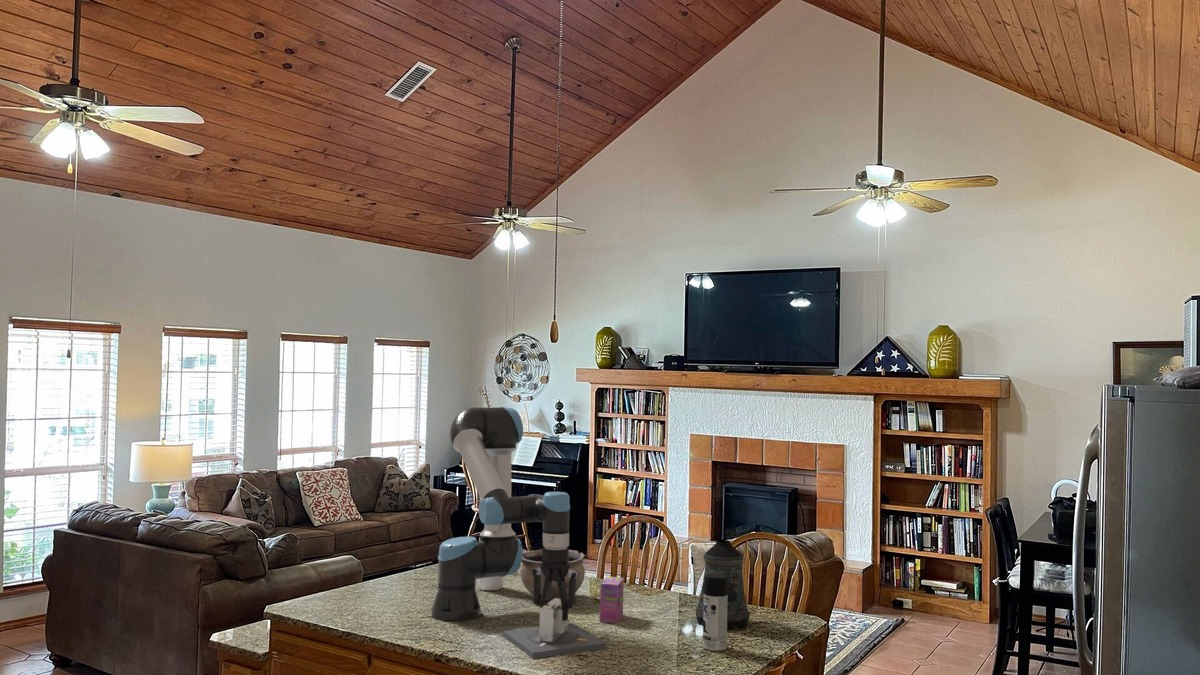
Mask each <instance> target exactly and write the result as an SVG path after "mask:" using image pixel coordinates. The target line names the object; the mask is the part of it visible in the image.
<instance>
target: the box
mask: <svg viewBox="0 0 1200 675" xmlns="http://www.w3.org/2000/svg"><path fill="white" fill-rule="evenodd" d="M624 584H625V578H624V577H620V576H619V577H618V576H606V577H605V578H604V579H603V581H602V582H601V583H600V594H599V595H600V597H599V598H600V599H599V600H600V601H599V622H600V623H605V622H612V623H611V624H618V623H619V621H620V620H621V618H622V617H623V615H624V590H625V589H624V586H625V585H624Z"/></svg>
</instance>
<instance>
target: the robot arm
mask: <svg viewBox="0 0 1200 675" xmlns="http://www.w3.org/2000/svg"><path fill="white" fill-rule="evenodd" d="M523 436H524V425H523V420H522V417H521V415H520V414H519V411H517V410H516V409H515V408H512V407H504V406H500V407H475V406H474V407H469V408H465V409H464V410H462V411H460V412H459V413H458V414H457V415H456V417H455V418H454V419H453V421H452V423H451V425H450V429H449V438H450V442H451V445H452V447H453V449H454V450H455V451H456V452H458V454H459V453H460V456H461V458H462V461H463V462H464V465H465V468H466V469H467V471H468V473H469V474H468V475H469V476H470V478H471V480H472V482H473V485H474V487H475V490H476V492H477V494H478V496H479V498H480V502H479V505H478V514H479V516H478V517H479V519H480V520H479V521H480V522H481V523H482V524H483V525H484V528H483V530H482V531H481V532H480V533H479V538H480V541H479V540H477V538H476V537H474V536H458V537H453V538H449V539H447V540H445V541H443V542H442V543H441V544H440V545H439V550H438V556H437V560H438V571H437V572H438V575H437V576H438V577H437V578H438V580H437V592H436V595H435V598H434V600H433V603H432V605H431V617H433V618H435V619H438V620H442V621H466V620H472V619H475V618H478V617H479V616H480V615H481V604H480V600H479V597H478V593H477V591H476V581H477V580H478V579H480V578H489V577H498V576H500V577H503V578H504V577H506V576H513V575H514V574H516V573H517V572H518V571H519V569H520V567H521V566H522V557H523V553H524V551H523V545H522V541H521V539H519V538H517V533H516V532H515V531H514V530H513V528H512V524H524V523H525V524H526V523H536V522H537V523H542V548H541V549H542V564H541V567H539V568H535V569H533V570H532V574H533V577H534V596H533V603H534V605H536V606H539V608H540V607H542V606H544V605H545V604H547V603H548V601H549V600H548V597H549V592H550V587H551V583H552V581H556V582H557V585H558V588H559V594H560V599H561V605H562V608H561V609H559V633H563V632H564V631H565V621H566V620H567V619H568V620H569V609H572V608H573V607H574V606H575V605H576V593H575V591H576V579H577V576H578V571H573V570H571V569H570V567H569V564H568V561H569V550H570V549H569V548H568V547H569V546H570V515H571V512H570V511H571V504H570V495H569V494H568V493H567V492H565V491H547V492H545V493H544V494H543V495H542V494H539V493H537V494H535V493H532V494H528V495H523V496H512V454H513V453H514V452H515V451H516V450H517V444H518V443H521V441H522V440H523ZM541 571H542V572H543V574H544V575H545V581H544V583H545V584H544V588H543V593H542V598H541ZM567 574H569V578H570V580H569V595H568V598H567V592H566V586H565V576H566V575H567Z"/></svg>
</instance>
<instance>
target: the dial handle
mask: <svg viewBox="0 0 1200 675" xmlns="http://www.w3.org/2000/svg"><path fill="white" fill-rule="evenodd" d="M561 608H562V605H561V599H560V598H555V599H553V600H549V602H548V601H547V604H545V605H544V606H542V607H540V606H539V626H538V627H539V641H545V642H554V641H555V640H556V639H558V638H559V637H560V636H562V635H563V634H564V633H566V632H567V631H568V623H569V618H568V619H567V620H566V621H565V631H564V632H563V633H559V609H561Z"/></svg>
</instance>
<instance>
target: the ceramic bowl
mask: <svg viewBox="0 0 1200 675" xmlns="http://www.w3.org/2000/svg"><path fill="white" fill-rule="evenodd" d="M542 549H543V548H540V549H536V550H530V551H526V552H523V557H522V562H521V566H520V567H521V569H520V578H521V582H522V584H523V586H524V587H525V589H526V590H527V591H528V592H529V593H530V594H531V595H532V596H533V597H534V577H533V574H532V570H533V569H535V568H539V567H541V564H542ZM584 557H585V554H584V553H583V552H579V551H578V550H572V549H569V561H568V564H569V567H570V569H571V570H573V571H578V576H577V579H576V591H575V594H576V593H577V592H578V591H579V589H580V588H581V586H582V584H583V582H584V581H585V577H586V576H585V574H586V572H585V566H584V564H583V561H584V559H585V558H584ZM569 580H570V578H569V574H567V575H566V576H565V586H566V592H567V598H568V595H569ZM544 581H545V575H544V574H543V572H542V571H541V598H542V593H543V588H544V584H545V583H544ZM555 598H560V594H559V588H558V585H557V582H556V581H552V583H551V587H550V592H549V597H548V601H551V600H553V599H555Z"/></svg>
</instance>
